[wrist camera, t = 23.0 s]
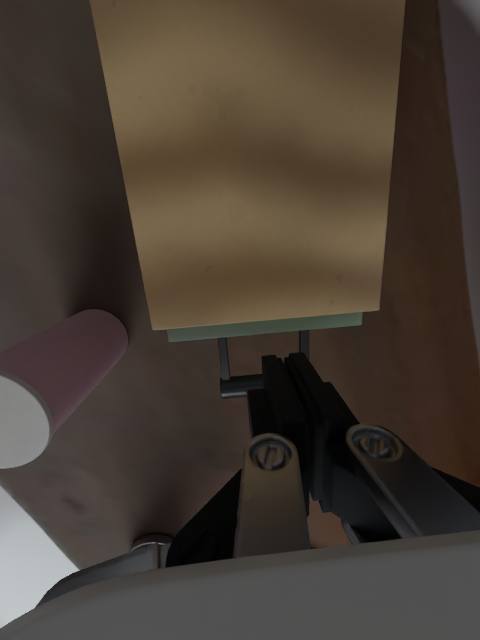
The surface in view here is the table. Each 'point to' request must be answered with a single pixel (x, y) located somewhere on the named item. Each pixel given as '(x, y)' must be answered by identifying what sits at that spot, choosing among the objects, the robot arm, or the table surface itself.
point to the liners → (53, 379)
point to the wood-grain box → (254, 151)
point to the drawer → (241, 384)
